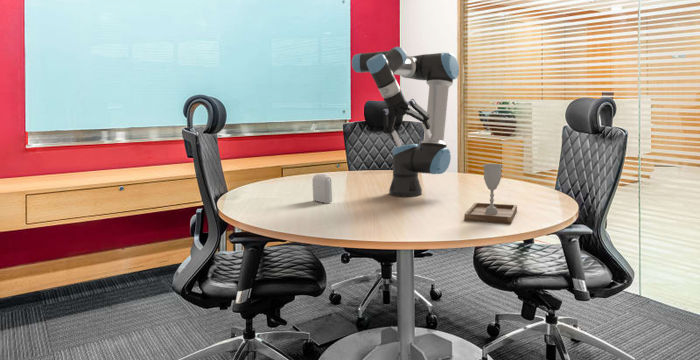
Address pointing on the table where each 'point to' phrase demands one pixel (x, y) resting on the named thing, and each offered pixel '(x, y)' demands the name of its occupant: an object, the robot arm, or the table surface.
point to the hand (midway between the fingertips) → (414, 141)
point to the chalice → (492, 183)
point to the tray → (479, 214)
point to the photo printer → (322, 188)
